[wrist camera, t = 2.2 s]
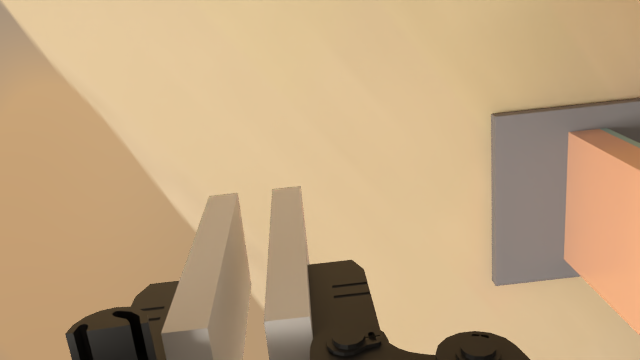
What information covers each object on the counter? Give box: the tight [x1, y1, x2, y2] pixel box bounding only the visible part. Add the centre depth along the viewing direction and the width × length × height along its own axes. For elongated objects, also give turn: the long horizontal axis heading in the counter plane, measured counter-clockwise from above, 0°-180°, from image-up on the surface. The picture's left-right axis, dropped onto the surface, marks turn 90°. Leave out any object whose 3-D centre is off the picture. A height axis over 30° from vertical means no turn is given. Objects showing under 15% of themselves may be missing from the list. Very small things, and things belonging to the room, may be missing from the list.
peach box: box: [564, 128, 640, 335], centre depth 34 cm, size 2×9×12 cm, turn 6°
